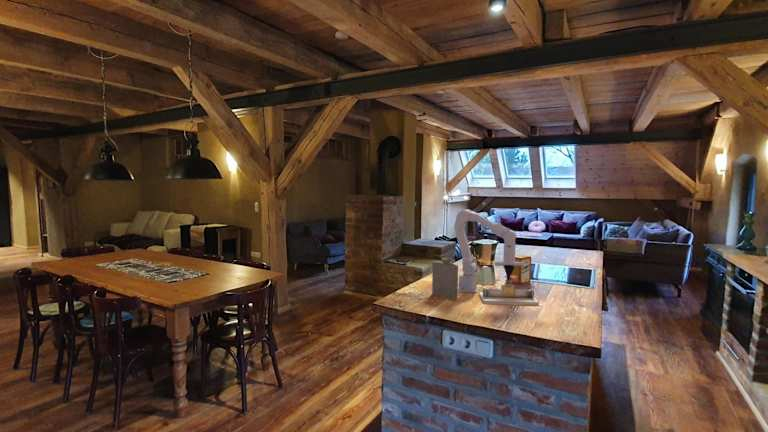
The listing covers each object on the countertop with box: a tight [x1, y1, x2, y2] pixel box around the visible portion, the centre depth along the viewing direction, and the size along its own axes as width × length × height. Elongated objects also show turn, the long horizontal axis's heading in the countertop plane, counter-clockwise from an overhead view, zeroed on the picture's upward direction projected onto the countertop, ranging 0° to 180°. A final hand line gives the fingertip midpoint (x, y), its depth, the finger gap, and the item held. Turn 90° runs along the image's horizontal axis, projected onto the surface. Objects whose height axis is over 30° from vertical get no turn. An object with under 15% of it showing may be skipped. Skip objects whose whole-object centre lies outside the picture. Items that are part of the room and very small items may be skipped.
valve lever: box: [505, 275, 517, 284], centre depth 197 cm, size 12×3×2 cm, turn 146°
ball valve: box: [482, 282, 535, 299], centre depth 193 cm, size 24×6×7 cm, turn 85°
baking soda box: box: [510, 254, 532, 286], centre depth 226 cm, size 10×6×16 cm
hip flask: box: [431, 257, 459, 302], centre depth 197 cm, size 16×4×20 cm, turn 40°
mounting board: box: [478, 291, 540, 306], centre depth 193 cm, size 26×14×2 cm, turn 85°
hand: (508, 279), depth 201 cm, fingers closed, pressing on valve lever
